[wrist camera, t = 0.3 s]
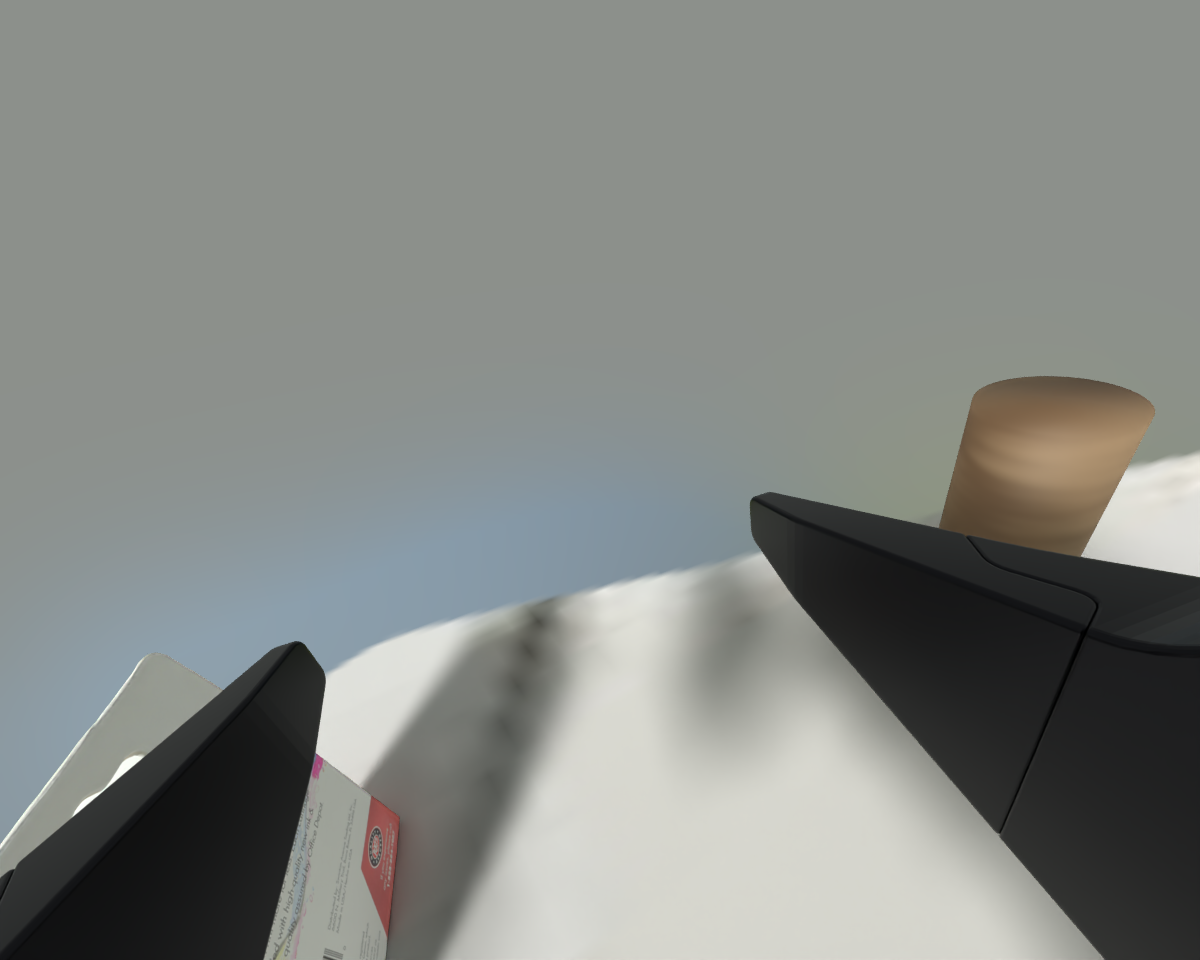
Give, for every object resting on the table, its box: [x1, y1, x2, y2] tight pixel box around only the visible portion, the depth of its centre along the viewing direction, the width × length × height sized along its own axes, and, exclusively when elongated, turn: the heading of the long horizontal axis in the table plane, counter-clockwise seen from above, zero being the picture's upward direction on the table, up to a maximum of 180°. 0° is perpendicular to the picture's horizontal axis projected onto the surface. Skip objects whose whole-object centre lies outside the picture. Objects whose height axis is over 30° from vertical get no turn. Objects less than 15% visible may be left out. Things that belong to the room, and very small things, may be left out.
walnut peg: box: [939, 376, 1155, 557], centre depth 18 cm, size 4×4×13 cm
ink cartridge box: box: [0, 653, 400, 960], centre depth 13 cm, size 9×5×15 cm, turn 17°
